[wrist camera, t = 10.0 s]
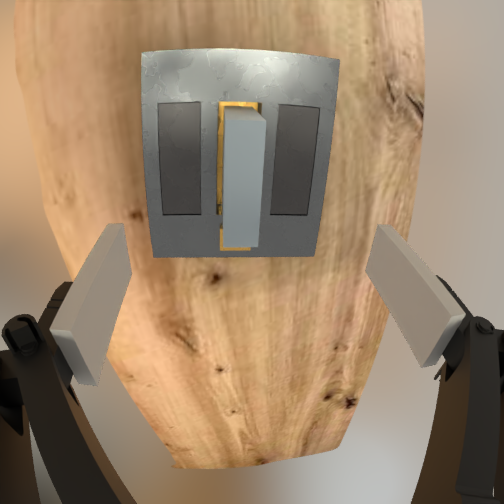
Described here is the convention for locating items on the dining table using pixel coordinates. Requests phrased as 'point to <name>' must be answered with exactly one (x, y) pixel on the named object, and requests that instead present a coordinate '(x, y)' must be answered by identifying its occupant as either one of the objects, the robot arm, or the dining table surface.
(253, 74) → the panel
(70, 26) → the dining table surface
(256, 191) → the panel
